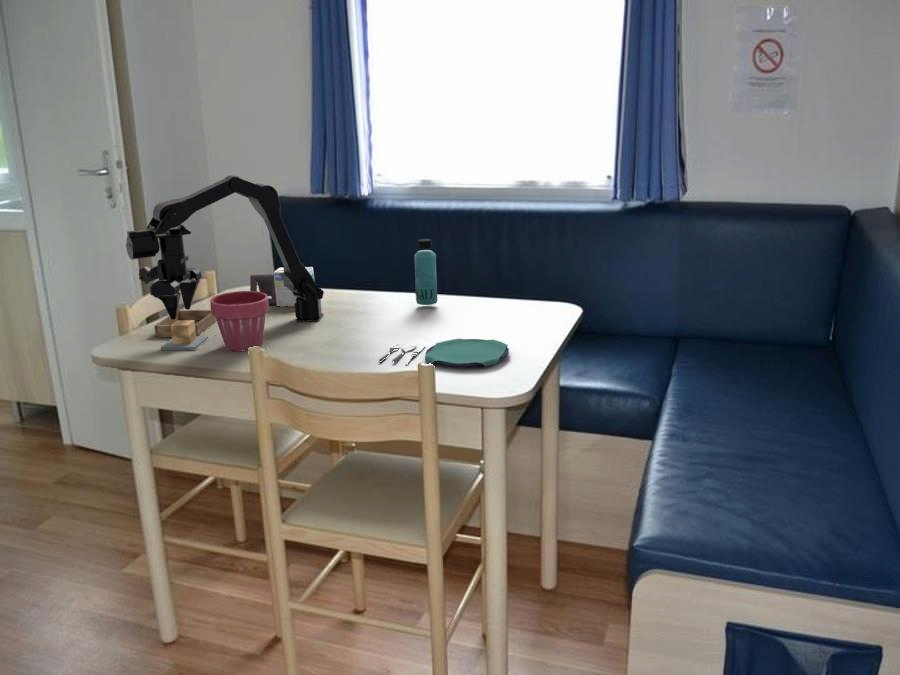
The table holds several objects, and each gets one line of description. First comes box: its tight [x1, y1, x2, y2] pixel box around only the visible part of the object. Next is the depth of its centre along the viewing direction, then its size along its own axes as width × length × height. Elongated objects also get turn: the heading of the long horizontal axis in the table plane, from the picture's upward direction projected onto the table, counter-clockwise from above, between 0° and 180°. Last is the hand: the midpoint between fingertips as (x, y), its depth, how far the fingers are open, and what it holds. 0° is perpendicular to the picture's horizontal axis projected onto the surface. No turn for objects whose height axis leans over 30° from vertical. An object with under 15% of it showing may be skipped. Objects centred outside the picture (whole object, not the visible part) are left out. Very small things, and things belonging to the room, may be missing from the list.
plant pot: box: [209, 290, 270, 352], centre depth 207 cm, size 14×14×13 cm
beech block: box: [171, 320, 197, 344], centre depth 211 cm, size 4×4×5 cm
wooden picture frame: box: [154, 309, 217, 338], centre depth 225 cm, size 12×16×3 cm
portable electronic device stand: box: [249, 273, 277, 306], centre depth 248 cm, size 9×8×8 cm
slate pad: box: [160, 335, 209, 351], centre depth 211 cm, size 9×9×1 cm
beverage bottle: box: [413, 238, 438, 306], centre depth 236 cm, size 6×7×20 cm
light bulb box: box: [273, 266, 315, 308], centre depth 245 cm, size 11×7×11 cm, turn 84°
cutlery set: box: [378, 338, 510, 367], centre depth 197 cm, size 20×30×2 cm, turn 75°
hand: (180, 314), depth 209 cm, fingers open, 9 cm apart
